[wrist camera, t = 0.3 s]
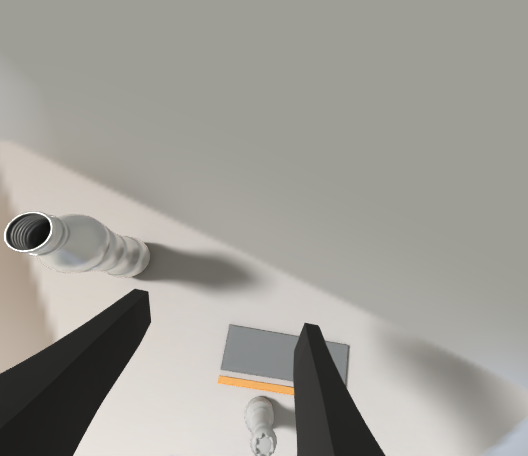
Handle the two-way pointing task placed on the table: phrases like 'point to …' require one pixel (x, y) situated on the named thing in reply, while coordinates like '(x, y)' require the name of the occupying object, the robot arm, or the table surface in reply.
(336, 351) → the mat
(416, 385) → the table surface
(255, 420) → the rook chess piece
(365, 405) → the table surface
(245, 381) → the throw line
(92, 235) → the plastic bottle
